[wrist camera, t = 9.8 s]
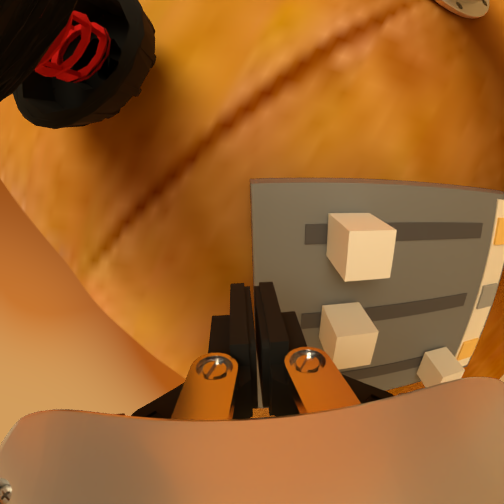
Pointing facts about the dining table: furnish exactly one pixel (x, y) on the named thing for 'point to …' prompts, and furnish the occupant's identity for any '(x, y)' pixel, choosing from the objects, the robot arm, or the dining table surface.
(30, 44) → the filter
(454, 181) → the dining table surface
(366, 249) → the knob
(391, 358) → the switch board
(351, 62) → the dining table surface
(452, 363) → the knob
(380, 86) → the dining table surface
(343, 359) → the knob
